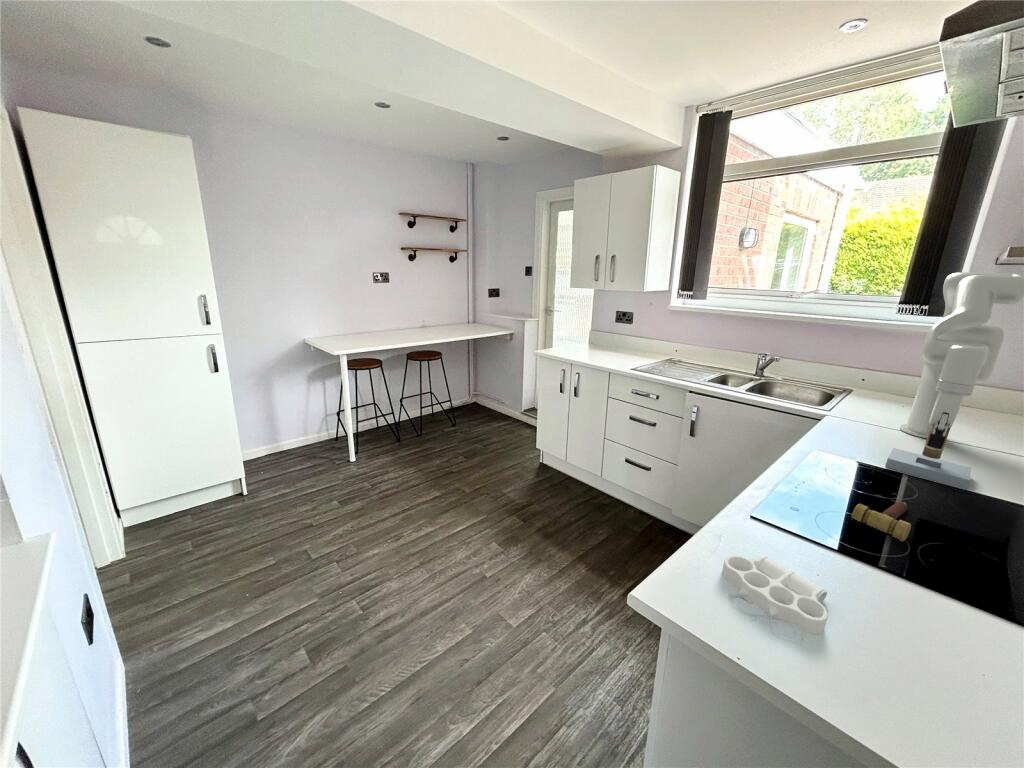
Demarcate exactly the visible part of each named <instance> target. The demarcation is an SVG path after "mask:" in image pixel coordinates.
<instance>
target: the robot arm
mask: <svg viewBox="0 0 1024 768" xmlns="http://www.w3.org/2000/svg"><path fill="white" fill-rule="evenodd" d="M942 294H943V295H942V296H943V300H944V303H945V307H944V313H943V316H942V318H941V319H940V320H938V321H937V322H936V323H934V324H933V325H932V326H931V327H930V328H929V330H928V331H927V334H926V336H925V339H924V340H925V341H924V343H923V347H922V353H921V356H922V359H923V362H922V367H921V369H922V370H921V377H920V380H919V384H918V387H917V391H916V394H915V398H914V400H913V404H912V406H911V410H910V412H909V416H908V418H907V422H906V424H905V423H903V424H900V426H899V429H900V430H901V431H902V432H904V433H906V434H909V435H912V436H915V437H919V438H922V439H923V438H924V439H927V438H928V435H929V432H930V429H931V426H932V423H936V424H935V427H934V430H933V433H931V435H930V438H929V441H928V444H927V446H930V447H934V448H938V449H942V446H943V443H944V441H945V438H946V436H945V434H946V431H947V429H948V428H949V427H951V428H952V427H953V424H954V423H955V421H956V419H957V417H958V415H959V412H960V410H961V408H962V404H963V403H964V400H965V397H972V395H973V392H974V390H975V387H976V384H982V383H983V384H984V383H985V382H987V381H988V380H989V379H990V377H991V376H992V372H993V370H994V367H995V365H996V361H997V359H998V356H999V354H1000V350H1001V347H1002V345H1003V342H1004V337H1005V336H1004V334H1005V333H1004V330H1003V328H1002V327H1001V326H998V325H994V324H986V323H988V321H989V320H991V317H992V311H993V306H994V304H1000V305H1001V304H1003V305H1015V304H1018V303H1019V302H1021V301H1022V300H1023V298H1024V276H1023V275H1021V274H1018V273H1005V272H1004V273H1003V272H1000V273H999V272H998V273H997V272H995V273H994V272H980V271H979V272H978V271H977V272H976V271H975V272H972V271H969V272H968V271H964V272H953V273H951V274H949V275H947V277H946V278H945V279H944V283H943V287H942ZM937 423H938V424H937ZM945 425H947V426H945ZM948 426H949V427H948ZM937 427H938V428H937ZM944 428H945V430H944ZM935 431H936V432H935Z"/></svg>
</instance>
